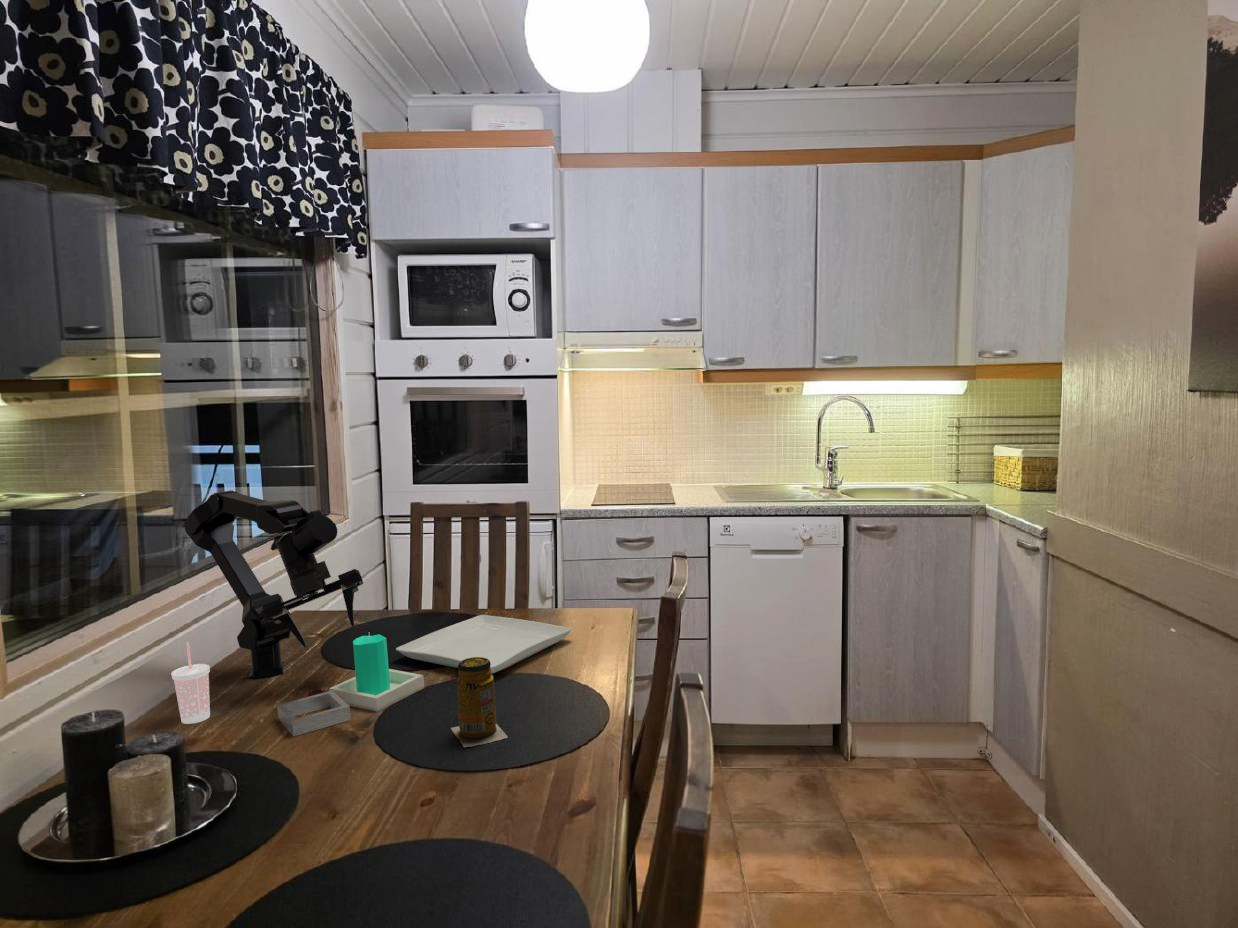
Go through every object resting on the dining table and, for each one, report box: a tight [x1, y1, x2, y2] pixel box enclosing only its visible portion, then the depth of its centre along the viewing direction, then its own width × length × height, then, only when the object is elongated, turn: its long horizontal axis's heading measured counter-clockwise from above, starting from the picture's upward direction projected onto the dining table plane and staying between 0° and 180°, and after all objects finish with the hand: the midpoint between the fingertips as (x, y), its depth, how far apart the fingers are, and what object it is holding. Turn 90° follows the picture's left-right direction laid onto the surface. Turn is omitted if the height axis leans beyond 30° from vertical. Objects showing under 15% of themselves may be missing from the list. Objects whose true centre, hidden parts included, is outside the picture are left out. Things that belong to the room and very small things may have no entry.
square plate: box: [395, 614, 573, 675], centre depth 173 cm, size 27×27×4 cm
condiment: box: [450, 657, 509, 748], centre depth 132 cm, size 7×8×12 cm
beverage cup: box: [170, 641, 211, 725], centre depth 143 cm, size 6×6×14 cm
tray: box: [328, 668, 425, 713], centre depth 151 cm, size 12×12×2 cm
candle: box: [352, 633, 390, 695], centre depth 150 cm, size 6×6×12 cm
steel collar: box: [276, 690, 352, 737], centre depth 141 cm, size 10×10×2 cm
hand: (329, 636), depth 154 cm, fingers open, 9 cm apart
